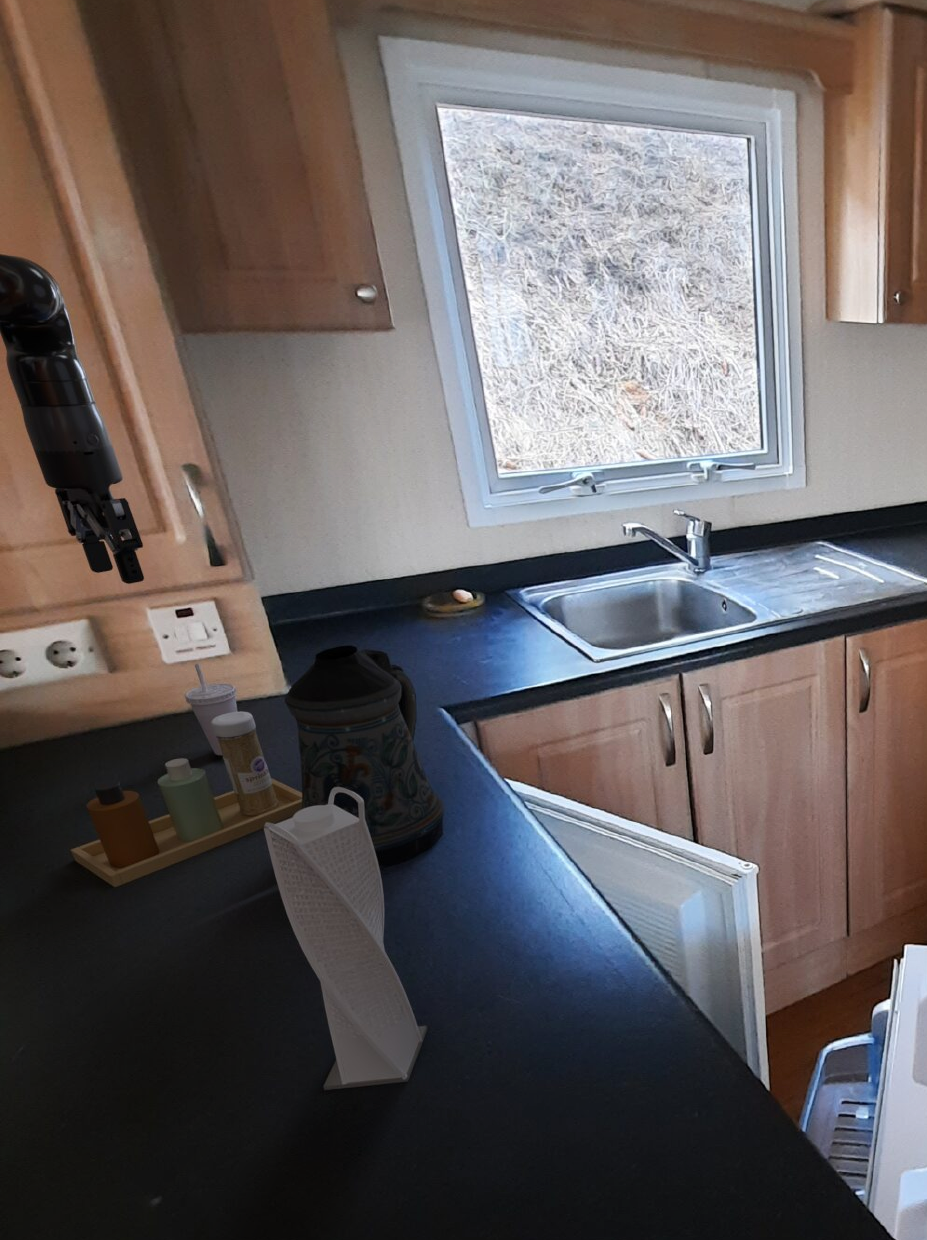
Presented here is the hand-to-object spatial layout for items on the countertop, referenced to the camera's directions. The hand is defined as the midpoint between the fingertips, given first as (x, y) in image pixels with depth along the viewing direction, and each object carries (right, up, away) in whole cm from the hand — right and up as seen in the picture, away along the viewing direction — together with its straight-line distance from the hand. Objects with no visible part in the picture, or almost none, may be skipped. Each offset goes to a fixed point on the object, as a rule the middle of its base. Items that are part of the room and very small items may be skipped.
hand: (118, 576), depth 124 cm
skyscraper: (+52, -52, -34) cm, 81 cm away
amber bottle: (+6, -35, -5) cm, 36 cm away
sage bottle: (+10, -33, +1) cm, 34 cm away
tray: (+10, -33, +1) cm, 35 cm away
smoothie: (-2, -22, +24) cm, 33 cm away
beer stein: (+32, -33, +3) cm, 46 cm away
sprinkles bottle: (+14, -30, +7) cm, 34 cm away
